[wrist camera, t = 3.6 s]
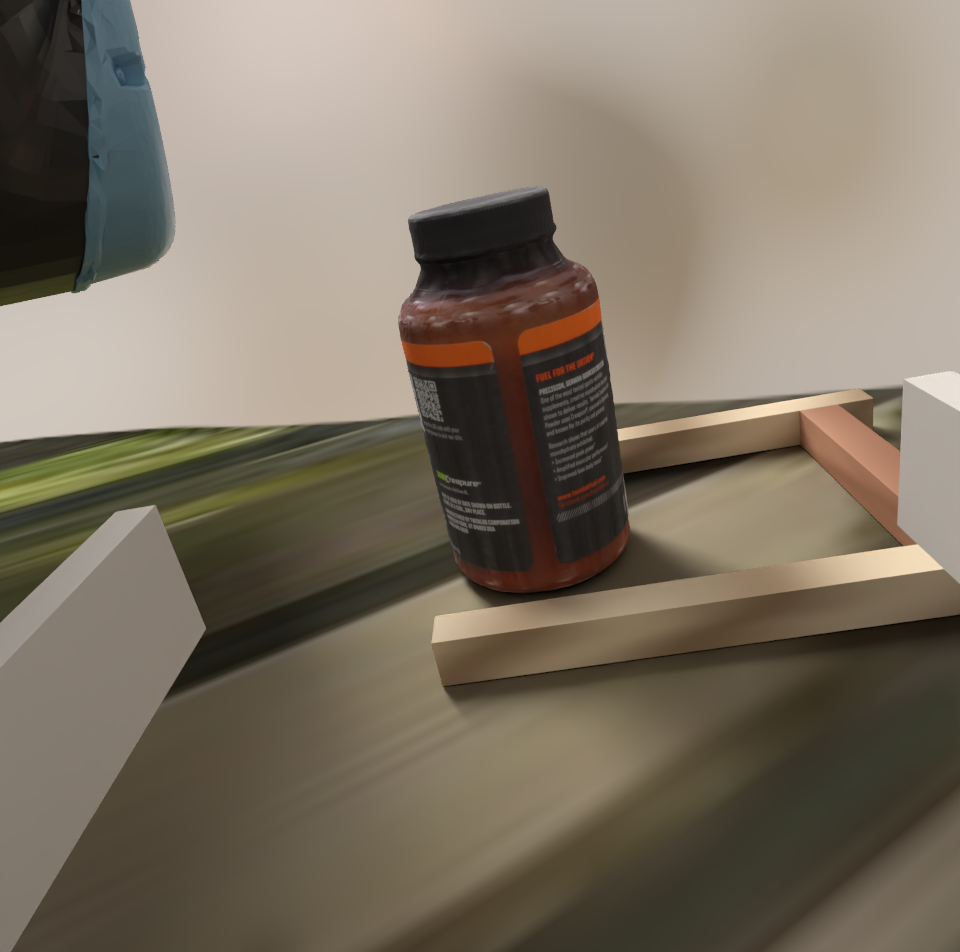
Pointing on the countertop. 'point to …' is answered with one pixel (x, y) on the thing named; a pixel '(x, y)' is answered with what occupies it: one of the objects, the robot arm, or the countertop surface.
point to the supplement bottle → (514, 394)
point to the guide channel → (727, 596)
